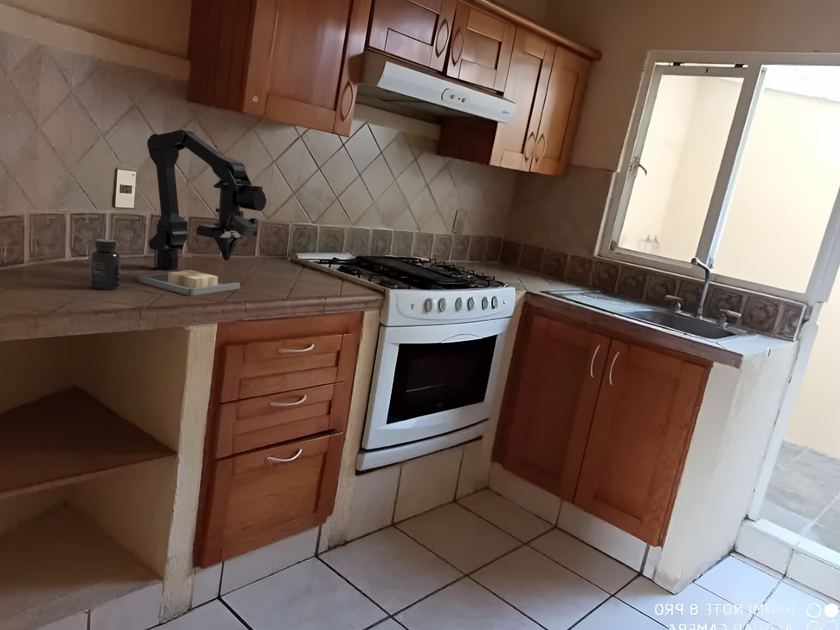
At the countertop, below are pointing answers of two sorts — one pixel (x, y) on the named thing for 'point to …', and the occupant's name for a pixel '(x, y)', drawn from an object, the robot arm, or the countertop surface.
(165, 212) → the robot arm
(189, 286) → the wooden block
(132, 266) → the countertop surface
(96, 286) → the supplement bottle
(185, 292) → the mat
